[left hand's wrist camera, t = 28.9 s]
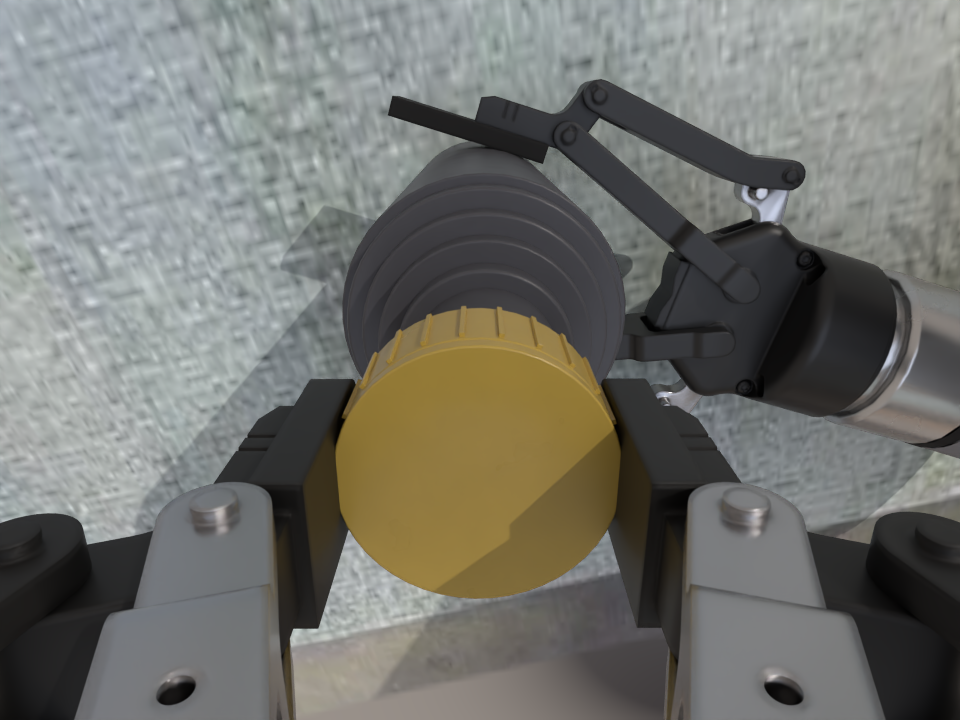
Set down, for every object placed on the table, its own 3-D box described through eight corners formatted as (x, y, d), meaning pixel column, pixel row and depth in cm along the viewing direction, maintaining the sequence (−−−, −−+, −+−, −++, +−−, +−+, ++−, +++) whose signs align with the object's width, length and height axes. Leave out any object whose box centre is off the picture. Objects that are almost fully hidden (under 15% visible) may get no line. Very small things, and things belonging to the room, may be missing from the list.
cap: (392, 551, 13) (378, 624, 11) (317, 337, 11) (287, 381, 10) (623, 505, 12) (647, 572, 11) (579, 276, 11) (598, 310, 9)
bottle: (381, 200, 35) (195, 376, 12) (492, 109, 34) (531, 103, 10) (467, 306, 38) (454, 637, 14) (575, 225, 36) (767, 442, 12)
